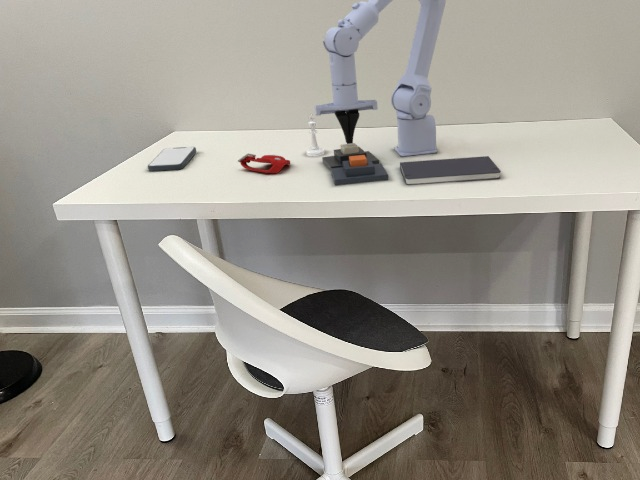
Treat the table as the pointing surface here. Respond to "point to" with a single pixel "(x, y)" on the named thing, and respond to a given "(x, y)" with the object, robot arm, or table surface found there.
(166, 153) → the phone case
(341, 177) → the slotted grey holder
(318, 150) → the chess piece
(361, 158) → the orange key
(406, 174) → the notebook
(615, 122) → the table surface
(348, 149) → the cream key
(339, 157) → the dark grey stepped base
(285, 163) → the red curved piece
